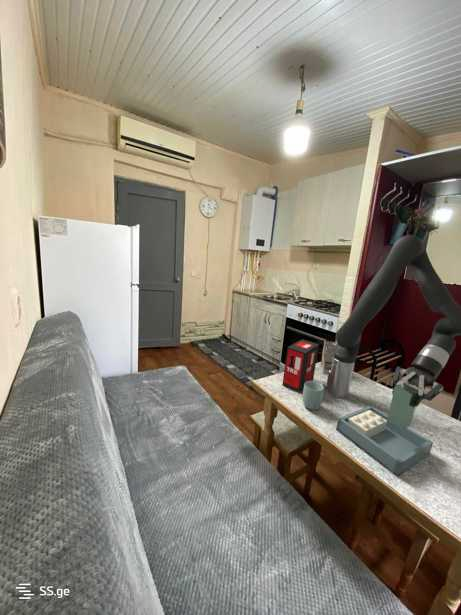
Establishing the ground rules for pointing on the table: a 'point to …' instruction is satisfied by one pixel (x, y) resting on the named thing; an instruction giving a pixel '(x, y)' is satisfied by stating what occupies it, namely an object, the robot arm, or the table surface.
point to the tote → (388, 443)
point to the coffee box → (328, 356)
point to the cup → (312, 394)
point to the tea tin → (402, 406)
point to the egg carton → (368, 423)
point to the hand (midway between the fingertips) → (402, 400)
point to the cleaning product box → (300, 364)
